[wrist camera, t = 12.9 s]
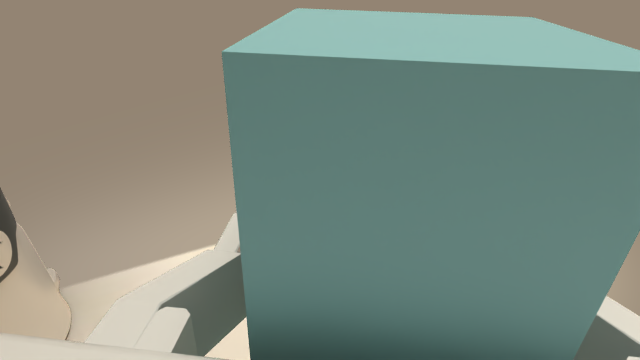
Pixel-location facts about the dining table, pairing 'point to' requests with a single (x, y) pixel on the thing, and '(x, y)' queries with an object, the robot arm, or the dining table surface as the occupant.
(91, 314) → the dining table surface
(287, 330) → the tall teal pillar
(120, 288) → the dining table surface
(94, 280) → the dining table surface
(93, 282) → the dining table surface
